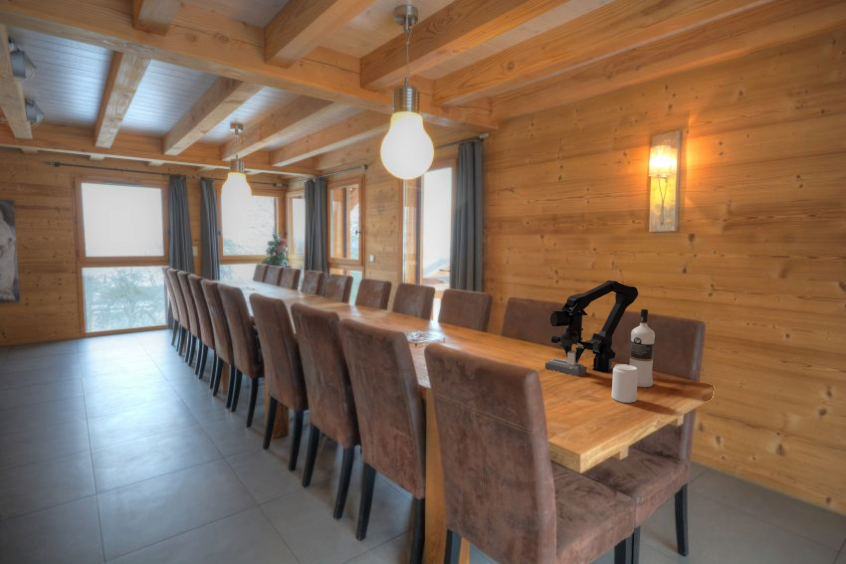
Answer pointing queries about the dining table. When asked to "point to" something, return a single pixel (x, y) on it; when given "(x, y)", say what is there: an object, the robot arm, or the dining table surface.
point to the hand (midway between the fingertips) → (572, 361)
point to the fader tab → (572, 358)
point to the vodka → (642, 351)
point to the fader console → (565, 367)
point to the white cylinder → (624, 383)
